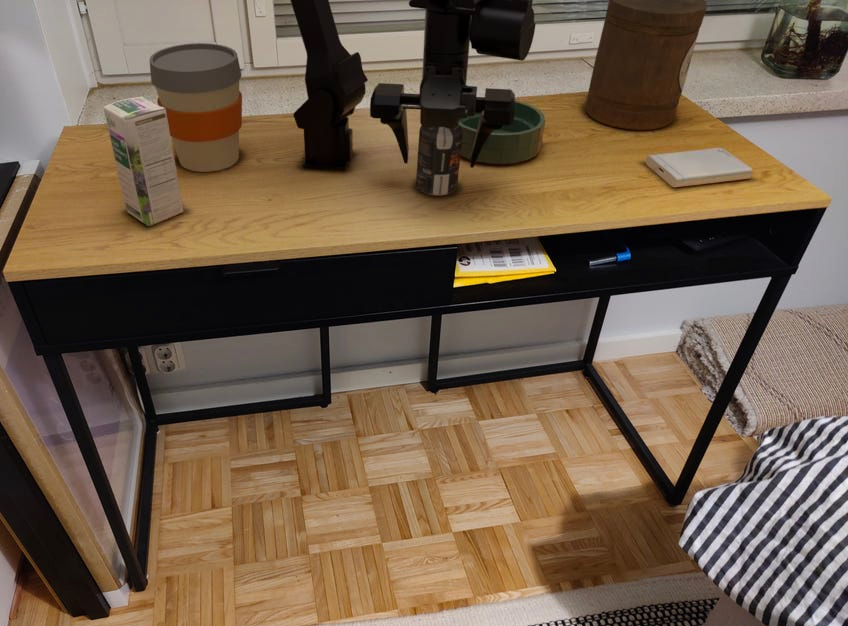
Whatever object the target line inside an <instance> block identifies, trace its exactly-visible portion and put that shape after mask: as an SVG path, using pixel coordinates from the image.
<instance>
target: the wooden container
mask: <svg viewBox="0 0 848 626" xmlns="http://www.w3.org/2000/svg"><path fill="white" fill-rule="evenodd" d="M707 7H708V3H707V1H706V0H608V4H607V10H606V13H605V19H604V22H603V26H602V30H601V35H600V39H599V43H598V47H597V51H596V56H595V59H594V64H593V68H592V73H591V77H590V82H589V87H588V92H587V96H586V101H585V106H584V110H585V112H586V114H587V115H588V116H589V117H590V118H591V119H592V120H593V119H594V120H595V121H597V122H599V123H601V124H604V125H607V126H609V127H614V128H618V129H623V130H633V131H650V130H657V129H660V128H661V129H662V128H664V127H667V126H668V125H670V124H671V123H672V122H673V121H674V119H675V116H676V113H677V110H678V106H679V104H680V103H679V102H680V99H681V96H682V94H683V90H684V87H685V83H686V80H687V76H688V73H689V69H690V66H691V61H692V58H693V54H694V50H695V46H696V44H697V40H698V37H699V32H700V28H702V25H703V22H704V19H705V15H706V11H707Z"/></svg>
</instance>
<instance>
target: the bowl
mask: <svg viewBox="0 0 848 626" xmlns="http://www.w3.org/2000/svg"><path fill="white" fill-rule="evenodd" d="M479 117H480V113H477V112H475V115H474V116H467V118H459V125H460V126H461V127H462V130H463V137H462V146H461V154H460V157H463V158H465V159H468V160H471V154H472V149H473V144H474V140H475V135H476V131H477V126H478V122H479ZM545 126H546V116H545V114H544V113H543V112H542V111H541V110H540V109H539V108H537V107H535V106H534V105H532V104H529V103H526V102H523V101H520V100H516V99H515V114H514V121H513V124H512V125H503V127H502V129H501V130H495V131H493V132H492V133H491V134H490V135H489V137H488V138H487V140H486V142H485V143H484V145H483V147H482V149H481V152H480V154H479V156H478V158H477V160H476V162H479V163H483V164H492V165H507V164H517V163H521V162H524V161H528V160H530V159H532V158H534V157H535V156H537V155H538V153H539V152H540V151H541V149H542V143H543V137H544V131H545Z"/></svg>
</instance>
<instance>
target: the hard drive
mask: <svg viewBox="0 0 848 626" xmlns="http://www.w3.org/2000/svg"><path fill="white" fill-rule="evenodd" d="M644 164H645V165H646V166H648V168H649V169H651V171H653V172H654V173H655V174H656V175H658V176H659V177H660V178H661V179H663V180H664V182H665V183H667V184H668V185H669V186H671V187H672V188H678V187H679V188H681V187H688V186H696V185H697V186H698V185H706V184H714V183H721V182H723V183H724V182H731V181H739V180H749V179H751V178H752V175H753V173H754V170H753V168H752V167H750V166H749V165H748V164H747V163H745V162H744V161H741V160H740V159H739V158H738V157H736V156H735V155H733V154H731V153H730V152H729V151H727V150H726V149H725V148H723V147H713V148H705V149H696V150H685V151H675V152H666V153H657V154H649V155H647V156H646V158H645V161H644Z"/></svg>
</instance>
